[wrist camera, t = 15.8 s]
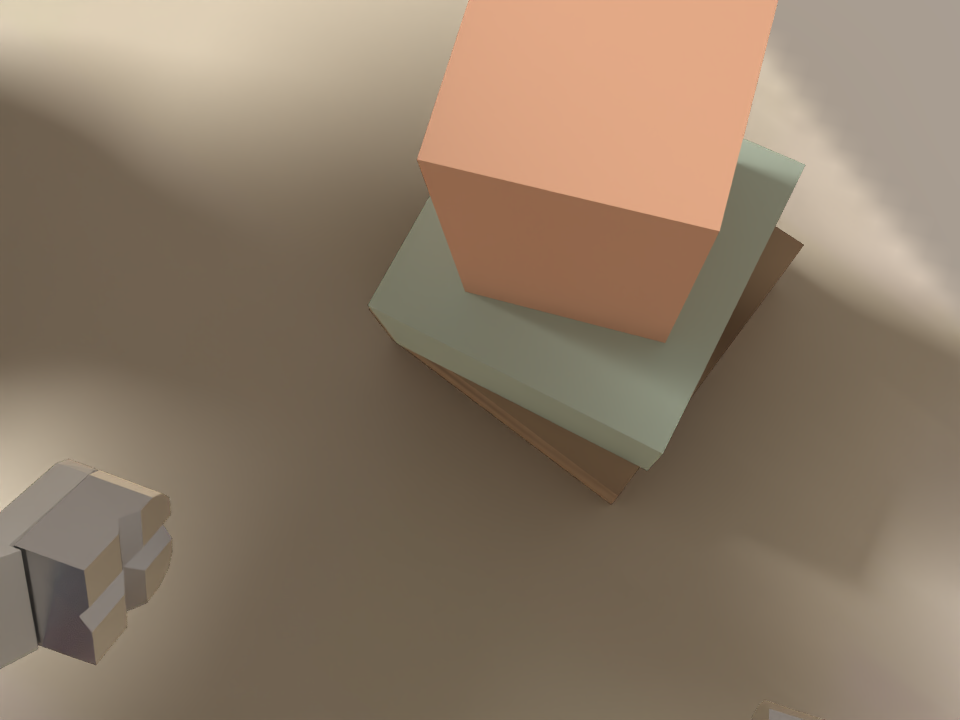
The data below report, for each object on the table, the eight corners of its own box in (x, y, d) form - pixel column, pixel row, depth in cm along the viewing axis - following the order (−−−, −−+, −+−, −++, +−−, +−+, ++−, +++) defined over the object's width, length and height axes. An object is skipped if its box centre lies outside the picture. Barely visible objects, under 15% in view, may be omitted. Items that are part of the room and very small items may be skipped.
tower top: (647, 470, 24) (662, 453, 21) (397, 343, 26) (367, 305, 22) (769, 224, 26) (805, 164, 22) (523, 116, 27) (516, 42, 23)
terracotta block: (665, 343, 21) (719, 231, 14) (465, 291, 22) (417, 159, 15) (714, 153, 22) (788, -45, 15) (520, 110, 23) (501, -100, 16)
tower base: (610, 505, 28) (618, 495, 24) (393, 341, 30) (368, 309, 26) (772, 287, 29) (804, 244, 25) (553, 141, 31) (552, 82, 27)
